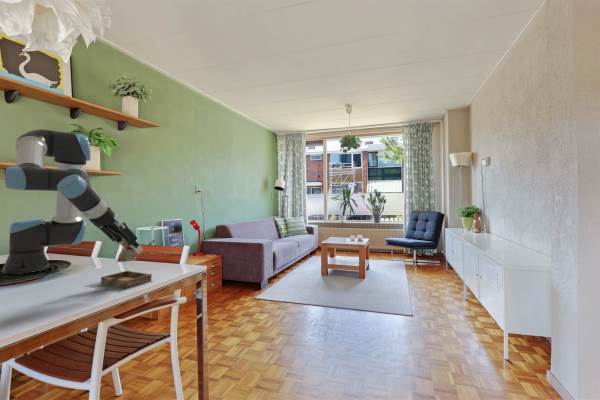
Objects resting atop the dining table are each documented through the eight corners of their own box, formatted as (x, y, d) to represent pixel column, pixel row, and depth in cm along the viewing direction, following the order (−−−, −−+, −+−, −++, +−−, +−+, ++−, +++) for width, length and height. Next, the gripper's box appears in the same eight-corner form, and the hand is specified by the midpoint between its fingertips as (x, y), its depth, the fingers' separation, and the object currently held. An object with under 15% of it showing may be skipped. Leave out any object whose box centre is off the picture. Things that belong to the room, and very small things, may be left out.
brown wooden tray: (100, 284, 114) (101, 277, 114) (127, 277, 125) (127, 270, 125) (126, 288, 110) (126, 281, 110) (151, 281, 121) (151, 274, 121)
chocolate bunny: (140, 260, 118) (140, 235, 118) (117, 262, 112) (118, 236, 112) (136, 257, 122) (137, 234, 122) (114, 260, 116) (115, 235, 117)
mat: (84, 287, 111) (84, 286, 111) (122, 276, 126) (122, 276, 126) (118, 293, 105) (118, 292, 105) (153, 282, 120) (153, 281, 120)
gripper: (74, 218, 106) (114, 256, 121) (108, 221, 100) (146, 260, 115) (89, 204, 111) (126, 242, 126) (122, 206, 105) (157, 245, 120)
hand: (135, 250), depth 121 cm, fingers closed on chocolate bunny, 4 cm apart
